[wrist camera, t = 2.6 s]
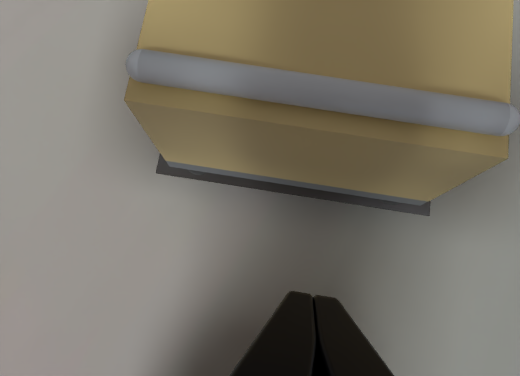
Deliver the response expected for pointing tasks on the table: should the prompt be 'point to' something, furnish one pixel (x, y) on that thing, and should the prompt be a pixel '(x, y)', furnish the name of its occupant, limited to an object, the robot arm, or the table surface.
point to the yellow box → (328, 91)
